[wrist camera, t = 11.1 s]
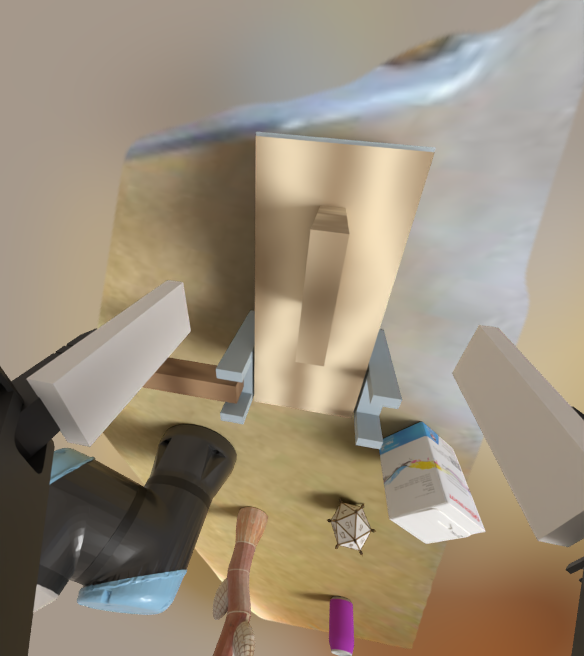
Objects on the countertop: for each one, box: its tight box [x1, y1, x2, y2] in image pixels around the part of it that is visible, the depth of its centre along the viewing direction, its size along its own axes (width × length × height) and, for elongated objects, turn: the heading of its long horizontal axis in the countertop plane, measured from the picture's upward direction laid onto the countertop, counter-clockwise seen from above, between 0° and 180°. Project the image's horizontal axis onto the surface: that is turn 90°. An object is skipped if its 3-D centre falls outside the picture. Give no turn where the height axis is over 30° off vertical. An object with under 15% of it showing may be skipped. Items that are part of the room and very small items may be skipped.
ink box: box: [379, 422, 485, 544], centre depth 38 cm, size 9×8×12 cm
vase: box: [213, 507, 268, 656], centre depth 53 cm, size 10×7×30 cm
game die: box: [327, 498, 376, 555], centre depth 53 cm, size 9×8×10 cm
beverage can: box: [329, 596, 354, 656], centre depth 86 cm, size 8×8×12 cm
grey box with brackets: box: [216, 132, 435, 449], centre depth 26 cm, size 17×26×12 cm, turn 175°
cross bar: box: [143, 358, 244, 404], centre depth 28 cm, size 14×2×2 cm, turn 85°
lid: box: [254, 136, 435, 418], centre depth 21 cm, size 11×25×10 cm, turn 175°
